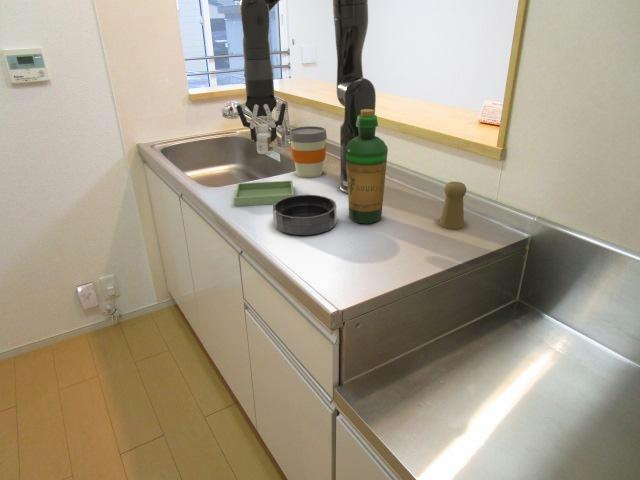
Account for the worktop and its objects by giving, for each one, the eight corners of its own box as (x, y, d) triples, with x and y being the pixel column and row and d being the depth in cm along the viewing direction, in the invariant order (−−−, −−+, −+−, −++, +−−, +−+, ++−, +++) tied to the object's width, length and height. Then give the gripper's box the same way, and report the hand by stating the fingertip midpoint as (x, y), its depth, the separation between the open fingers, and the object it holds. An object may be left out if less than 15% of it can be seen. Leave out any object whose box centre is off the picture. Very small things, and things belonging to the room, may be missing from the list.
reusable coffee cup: (318, 166, 164) (317, 124, 157) (333, 175, 153) (332, 131, 147) (286, 171, 159) (283, 128, 153) (299, 181, 149) (297, 136, 142)
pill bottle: (272, 153, 127) (270, 126, 123) (257, 154, 126) (254, 126, 123) (272, 150, 131) (270, 123, 127) (257, 150, 130) (255, 123, 127)
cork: (464, 220, 116) (469, 180, 111) (463, 230, 111) (468, 188, 106) (440, 218, 118) (444, 178, 113) (438, 227, 113) (442, 186, 108)
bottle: (339, 223, 117) (339, 113, 105) (351, 209, 126) (352, 105, 114) (380, 228, 113) (384, 115, 101) (389, 213, 122) (394, 107, 110)
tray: (292, 188, 143) (292, 180, 142) (294, 202, 131) (293, 194, 130) (238, 190, 142) (237, 183, 141) (234, 206, 130) (233, 198, 129)
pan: (332, 210, 125) (332, 193, 123) (339, 234, 111) (339, 215, 109) (274, 213, 124) (273, 196, 122) (274, 238, 110) (272, 219, 108)
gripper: (285, 74, 124) (289, 136, 131) (233, 76, 123) (239, 139, 130) (286, 77, 117) (289, 143, 124) (230, 79, 116) (237, 145, 123)
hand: (264, 140), depth 127 cm, fingers closed on pill bottle, 4 cm apart
